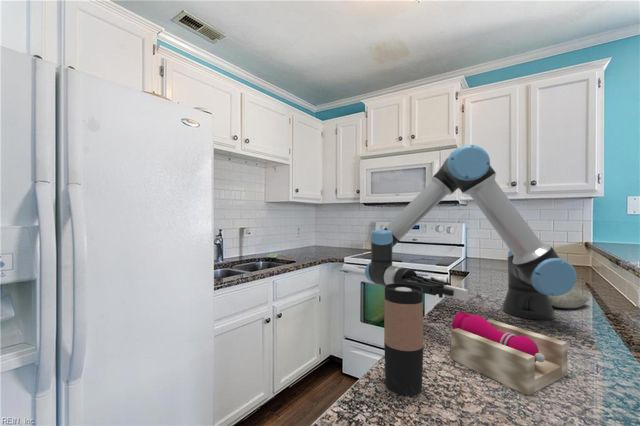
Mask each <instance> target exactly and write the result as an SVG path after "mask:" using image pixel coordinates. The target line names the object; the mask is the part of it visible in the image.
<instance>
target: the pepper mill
mask: <svg viewBox="0 0 640 426" xmlns="http://www.w3.org/2000/svg"><path fill="white" fill-rule="evenodd" d="M487 320H488V319H485V318H484V317H483V316H481V315H478V314H473V315H471V314H470V313H467V312H465V311H459V312H457V313H456V314H455V315H454V318H453V319H452V322H451V323H452V325H451V330H453V329H457V328H459V329H461V330H464V331H467V332H470V333H472V334H475V335H478V336H481V337H483V338H486V339H489V340H491V341H494V342H497V343H500V344H502V345H505V346H508V347H511V348H513V349H516V350H519V351H521V352H524V353H527V354H530V355H532V356H535V362H536V361H538V362H544V361H545V357H544V355H543V354H541V353H539V350H538V347H537V345H536V343H535V342H534V341H533V340H531V339H530V338H528V337H526V336H516V335H514V334H511V333H509V332H508V333H503V332H501V331H499V330H497V329H495V328H494V327H493V326H492V325H491V324H490V323H489V322H488V321H487Z"/></svg>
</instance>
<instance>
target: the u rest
mask: <svg viewBox="0 0 640 426" xmlns="http://www.w3.org/2000/svg"><path fill="white" fill-rule="evenodd" d="M486 320H487V321H488V322H489V323H490V324H491V325H492V326H493V327H494V328H495V329H497V330H499V331H501V332H503V333H508V332H509V333H511V334H514V335H516V336H526V337H528V338H530V339H531V340H533V341H534V342H535V343H536V345H537V347H538V350H539V353H541V354H543V355H544V357H545V361H544V362H538V361H536V362H535V356H532V355H530V354H527V353H524V352H521V351H519V350H516V349H513V348H511V347H508V346H505V345H502V344H500V343H497V342H494V341H491V340H489V339H486V338H483V337H481V336H478V335H475V334H472V333H470V332H467V331H464V330H461V329H459V328H457V329H451V330H450V333H451V334H450V335H451V337H450V344H451V345H450V347H451V348H450V352H451V353H450V356H451V357H450V358H451V360H452V361H455V362H456V363H459V364H461V365H463V366H465V367H467V368H469V369H471V370H473V371H475V372H477V373H480V374H481V375H484V376H486V377H488V378H490V379H492V380H494V381H495V382H498V383H501V384H502V385H504V386H507V387H508V388H511V389H512V390H515V391H517V392H520V393H521V394H523V395H524V396H525V395H526V396H528V397H529V396H531V395H533V394H535V393H536V392H538V391H540V390H542V389H543V388H545V387H547V386H549V385H552V384H553V383H555V382H557V381H559V380H561V379H562V378H563V379H564V378H565V377H566V376H568V368H569V367H568V342H566V341H564V340H560V339H556V338H553V337H550V336H547V335H544V334H540V333H537V332H534V331H530V330H527V329H523V328H520V327H517V326H514V325H510V324H507V323H504V322H501V321H498V320H494V319H492V318H491V319H486Z"/></svg>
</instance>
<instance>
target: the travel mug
mask: <svg viewBox="0 0 640 426" xmlns="http://www.w3.org/2000/svg"><path fill="white" fill-rule="evenodd" d="M423 294H424V293H423V289H422V287H420V286H417V285H413V284H405V283H393V284H387V285H386V286H384V319H383V320H384V322H383V323H384V326H383V328H384V331H383V332H384V333H383V339H384V341H383V343H384V346H383V347H384V370H385V371H384V373H385V376H384V377H385V385H386V387H387V389H389V391H391V392H392V393H394V394H397V395H400V396H407V397H410V396H411V397H412V396H417V395H419V394H420V393H421V392H422V389H423V368H424V367H423V365H424V362H423V361H424V304H423V303H424V302H423V301H424V300H423V298H424V297H423Z"/></svg>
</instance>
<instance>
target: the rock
mask: <svg viewBox="0 0 640 426" xmlns="http://www.w3.org/2000/svg"><path fill="white" fill-rule="evenodd" d="M548 297H549V299H550V302H551V306H553V307H555V308H559V309H578V308H580V307H582V306H584V305H586V304H587V303H588V301H590V299H589V297H588V295H585V294H584V293H581V292H578V291H575V290H573V289H572V290H571V291H569V292H568V293H566V294H564V295H561V296H549V295H548Z"/></svg>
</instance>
